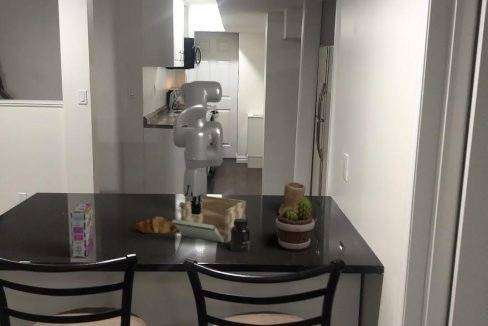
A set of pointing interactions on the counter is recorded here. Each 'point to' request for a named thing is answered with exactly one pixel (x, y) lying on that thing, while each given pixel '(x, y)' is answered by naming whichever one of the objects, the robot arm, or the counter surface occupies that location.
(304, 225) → the flowerpot
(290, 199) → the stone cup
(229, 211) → the crate
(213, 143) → the robot arm
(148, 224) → the croissant
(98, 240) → the counter surface
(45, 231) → the counter surface
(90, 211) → the candy bar box
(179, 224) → the panel
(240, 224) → the supplement bottle
